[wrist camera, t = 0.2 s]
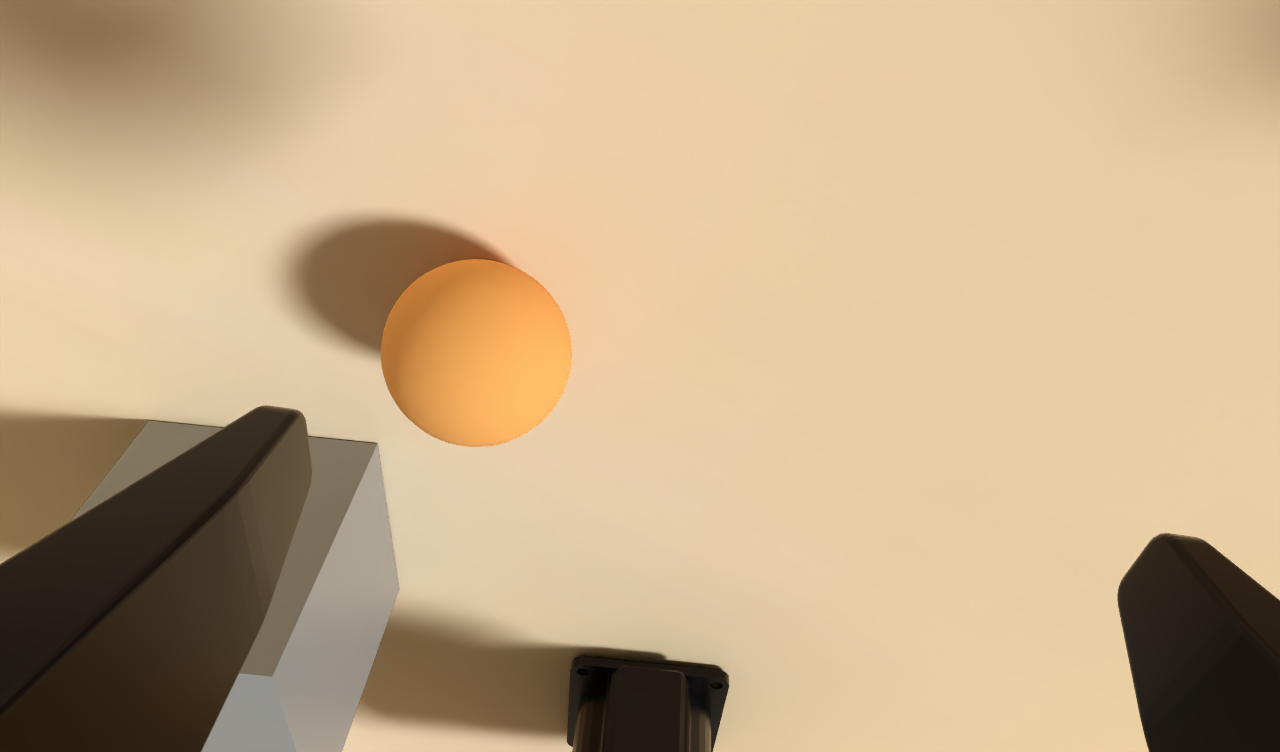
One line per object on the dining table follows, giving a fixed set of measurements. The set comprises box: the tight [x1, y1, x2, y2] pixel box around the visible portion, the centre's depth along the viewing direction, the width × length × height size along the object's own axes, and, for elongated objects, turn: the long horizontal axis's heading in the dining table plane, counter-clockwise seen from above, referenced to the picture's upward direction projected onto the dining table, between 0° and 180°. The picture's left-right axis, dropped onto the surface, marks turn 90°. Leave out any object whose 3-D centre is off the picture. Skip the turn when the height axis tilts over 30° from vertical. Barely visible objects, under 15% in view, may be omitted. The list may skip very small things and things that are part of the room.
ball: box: [381, 259, 572, 447], centre depth 23 cm, size 5×5×5 cm
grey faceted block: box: [70, 421, 399, 752], centre depth 28 cm, size 8×8×9 cm
